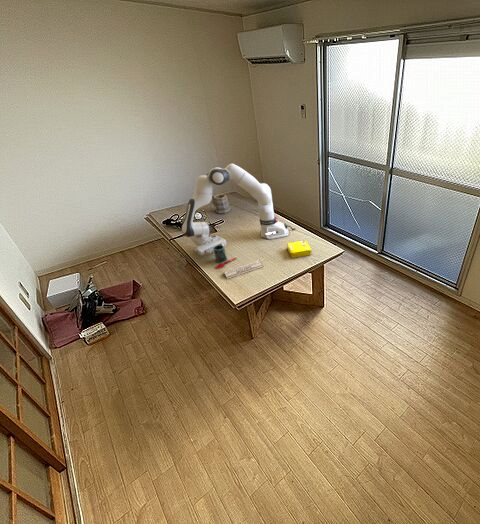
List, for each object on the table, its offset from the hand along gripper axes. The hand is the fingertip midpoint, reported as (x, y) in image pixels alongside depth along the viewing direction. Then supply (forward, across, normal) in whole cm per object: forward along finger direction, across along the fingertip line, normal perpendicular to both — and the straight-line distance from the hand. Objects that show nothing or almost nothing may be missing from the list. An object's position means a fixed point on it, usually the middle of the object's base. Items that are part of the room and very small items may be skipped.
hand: (217, 250), depth 192 cm
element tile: (+36, +42, +7) cm, 55 cm away
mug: (+4, 0, +7) cm, 8 cm away
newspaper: (+24, +2, +7) cm, 25 cm away
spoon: (+8, 0, +7) cm, 11 cm away
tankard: (-74, +48, +7) cm, 88 cm away
